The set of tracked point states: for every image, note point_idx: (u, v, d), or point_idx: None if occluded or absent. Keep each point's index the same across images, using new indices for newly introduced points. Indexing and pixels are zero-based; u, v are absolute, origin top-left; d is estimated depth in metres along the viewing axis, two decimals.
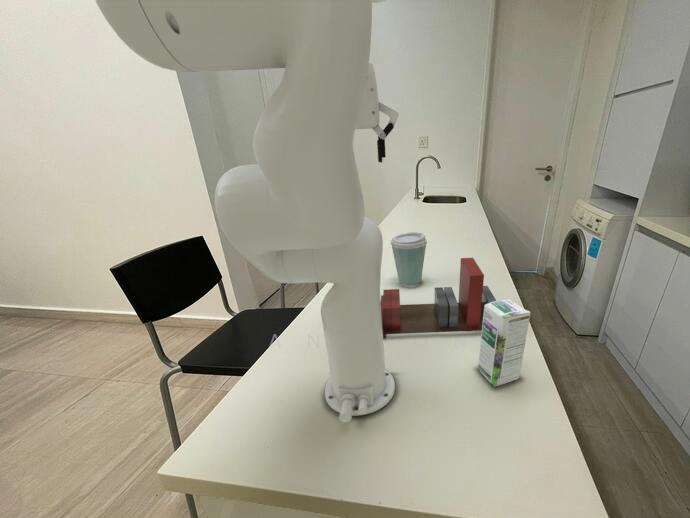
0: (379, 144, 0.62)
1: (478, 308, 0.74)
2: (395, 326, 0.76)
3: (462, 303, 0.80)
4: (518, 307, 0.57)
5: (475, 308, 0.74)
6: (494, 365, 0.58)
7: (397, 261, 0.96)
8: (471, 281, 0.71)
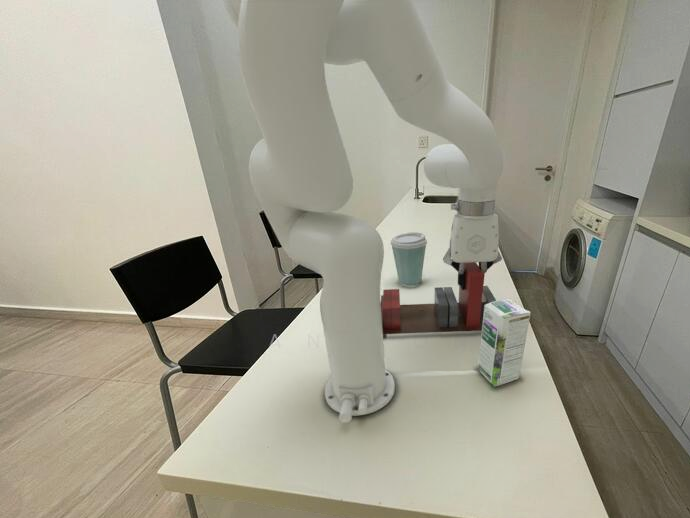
0: None
1: (478, 308, 0.74)
2: (395, 326, 0.76)
3: (462, 303, 0.80)
4: (518, 307, 0.57)
5: (475, 308, 0.74)
6: (494, 365, 0.58)
7: (397, 261, 0.96)
8: (471, 281, 0.71)
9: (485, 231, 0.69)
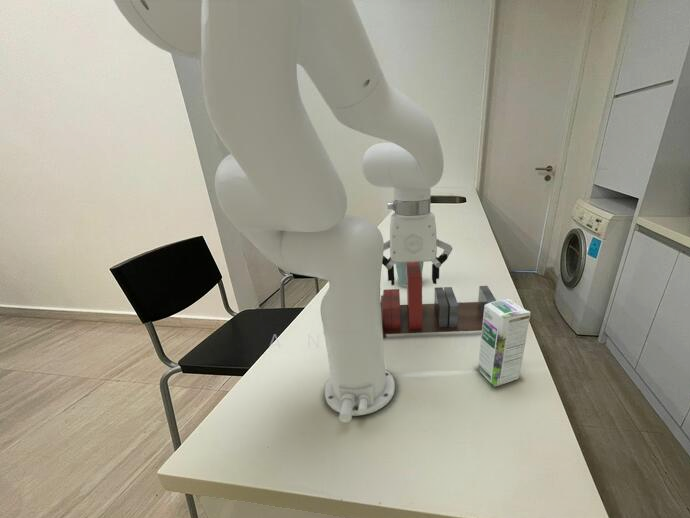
0: (435, 271, 0.74)
1: (419, 310, 0.74)
2: (395, 326, 0.76)
3: None
4: (518, 307, 0.57)
5: (416, 310, 0.74)
6: (494, 365, 0.58)
7: None
8: (409, 283, 0.71)
9: (421, 231, 0.69)
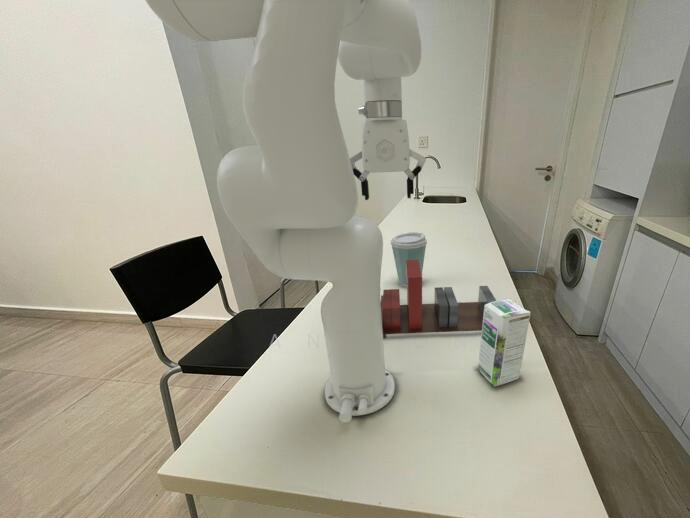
0: (409, 184, 0.73)
1: (419, 310, 0.74)
2: (395, 326, 0.76)
3: None
4: (518, 307, 0.57)
5: (416, 310, 0.74)
6: (494, 365, 0.58)
7: (397, 261, 0.96)
8: (409, 283, 0.71)
9: (393, 136, 0.68)
